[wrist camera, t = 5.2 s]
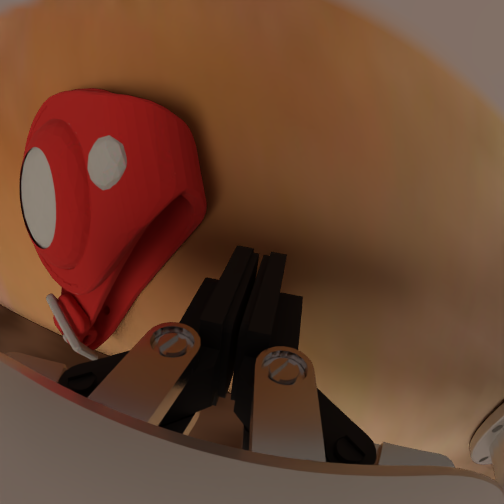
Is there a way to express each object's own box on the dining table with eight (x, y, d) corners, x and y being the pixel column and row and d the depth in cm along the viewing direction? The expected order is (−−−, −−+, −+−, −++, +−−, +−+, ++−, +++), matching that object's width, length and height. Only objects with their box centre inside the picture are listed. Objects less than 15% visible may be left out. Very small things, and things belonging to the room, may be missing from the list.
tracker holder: (-4, 140, 10) (99, 12, 6) (64, 133, 14) (197, 45, 9) (53, 371, 13) (193, 437, 8) (111, 337, 16) (262, 362, 11)
